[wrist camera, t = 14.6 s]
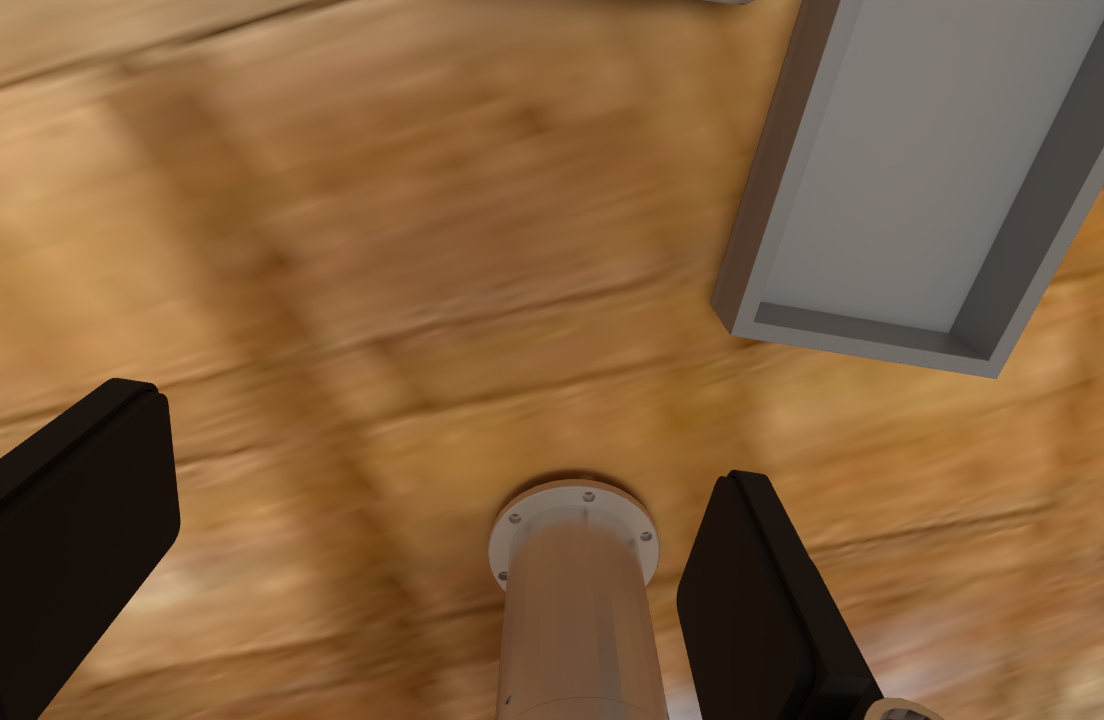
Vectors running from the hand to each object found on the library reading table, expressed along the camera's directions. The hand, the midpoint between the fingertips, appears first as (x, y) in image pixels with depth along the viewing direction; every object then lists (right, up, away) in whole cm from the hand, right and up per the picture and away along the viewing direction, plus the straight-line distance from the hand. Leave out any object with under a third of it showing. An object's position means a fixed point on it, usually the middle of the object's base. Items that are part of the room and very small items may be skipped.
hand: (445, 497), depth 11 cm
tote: (+22, +16, +24) cm, 36 cm away
